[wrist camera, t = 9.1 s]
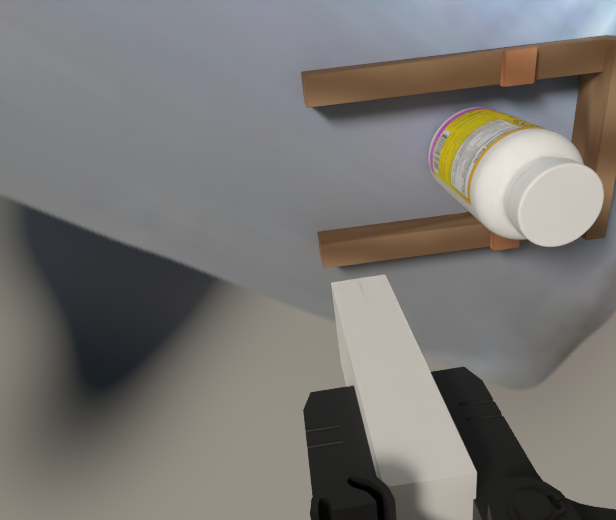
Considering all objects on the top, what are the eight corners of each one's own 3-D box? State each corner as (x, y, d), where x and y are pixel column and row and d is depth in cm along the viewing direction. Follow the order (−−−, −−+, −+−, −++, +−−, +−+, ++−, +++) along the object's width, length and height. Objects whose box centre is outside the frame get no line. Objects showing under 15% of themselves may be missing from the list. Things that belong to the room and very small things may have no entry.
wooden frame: (301, 70, 34) (305, 75, 31) (606, 33, 35) (640, 35, 32) (320, 255, 41) (325, 275, 38) (578, 221, 41) (604, 238, 38)
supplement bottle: (524, 161, 39) (638, 223, 27) (448, 208, 40) (527, 286, 28) (490, 85, 36) (602, 118, 24) (410, 137, 37) (480, 192, 26)
